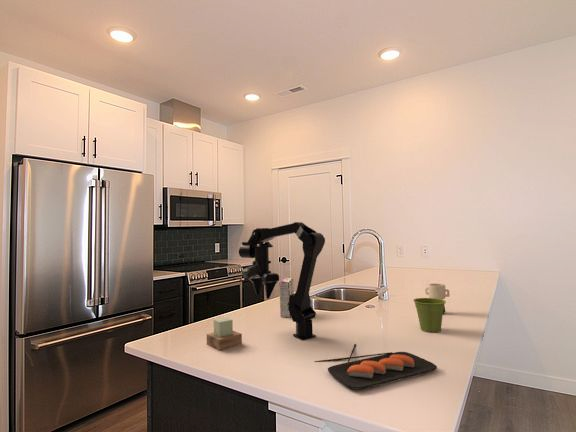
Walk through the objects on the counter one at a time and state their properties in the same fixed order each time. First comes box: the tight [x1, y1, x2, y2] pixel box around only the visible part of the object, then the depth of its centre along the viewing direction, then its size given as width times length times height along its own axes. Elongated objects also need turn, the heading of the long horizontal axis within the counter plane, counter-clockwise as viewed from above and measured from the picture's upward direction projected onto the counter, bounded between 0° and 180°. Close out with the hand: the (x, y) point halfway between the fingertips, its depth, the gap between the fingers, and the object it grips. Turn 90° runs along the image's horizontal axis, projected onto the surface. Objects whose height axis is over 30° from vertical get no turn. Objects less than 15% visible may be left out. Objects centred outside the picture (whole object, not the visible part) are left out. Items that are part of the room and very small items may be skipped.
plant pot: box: [412, 297, 447, 333], centre depth 130 cm, size 12×12×11 cm
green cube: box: [213, 316, 234, 337], centre depth 120 cm, size 5×5×5 cm
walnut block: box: [206, 330, 243, 351], centre depth 120 cm, size 9×9×4 cm
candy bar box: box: [278, 277, 295, 318], centre depth 160 cm, size 11×5×16 cm, turn 168°
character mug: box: [424, 283, 451, 313], centre depth 155 cm, size 11×7×13 cm, turn 46°
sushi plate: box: [313, 343, 438, 390], centre depth 100 cm, size 29×30×4 cm
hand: (262, 296), depth 138 cm, fingers open, 9 cm apart
